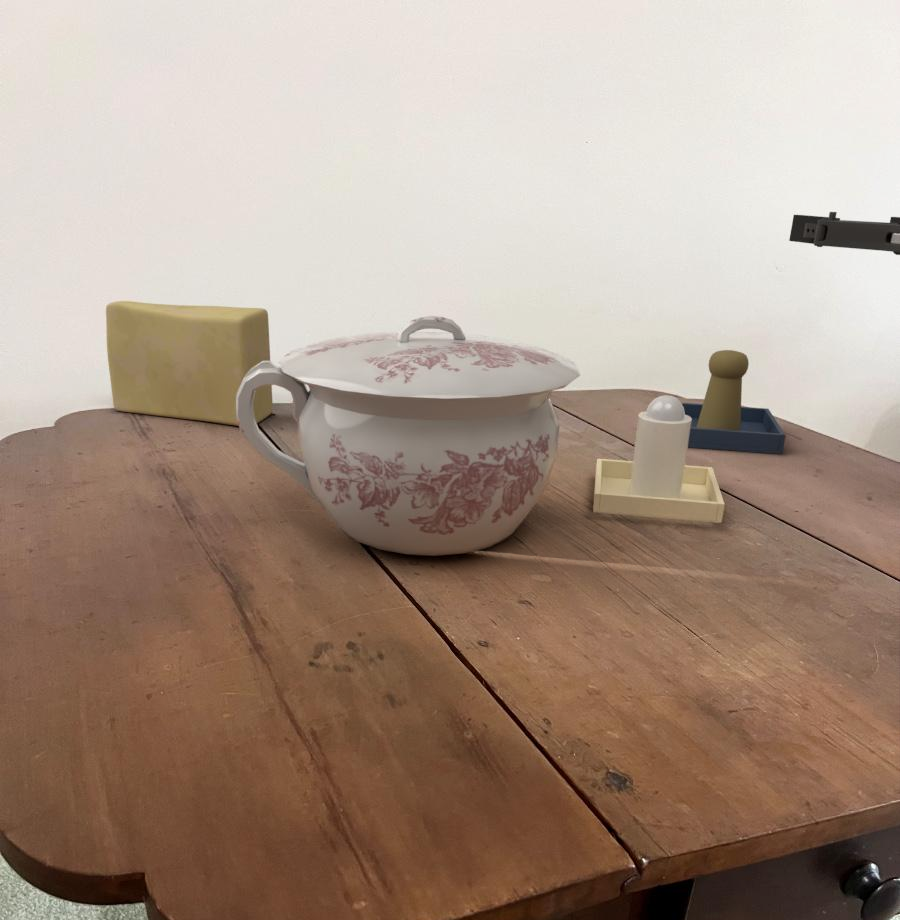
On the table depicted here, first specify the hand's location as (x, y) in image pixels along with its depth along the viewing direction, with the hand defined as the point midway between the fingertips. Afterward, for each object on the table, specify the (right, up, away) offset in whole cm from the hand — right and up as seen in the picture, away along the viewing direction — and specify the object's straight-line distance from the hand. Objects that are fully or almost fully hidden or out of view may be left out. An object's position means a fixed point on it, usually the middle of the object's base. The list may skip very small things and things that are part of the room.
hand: (843, 228), depth 104 cm
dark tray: (-7, -19, +25) cm, 32 cm away
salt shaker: (-22, -31, -3) cm, 38 cm away
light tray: (-22, -31, -3) cm, 38 cm away
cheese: (-81, -16, +25) cm, 87 cm away
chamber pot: (-47, -35, -13) cm, 60 cm away
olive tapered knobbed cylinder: (-7, -19, +25) cm, 32 cm away
